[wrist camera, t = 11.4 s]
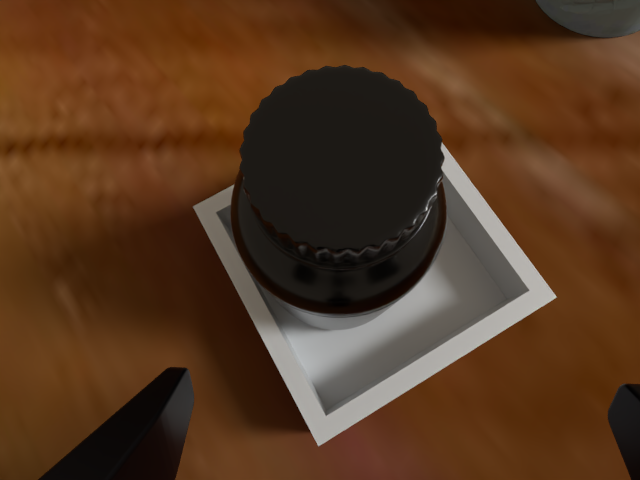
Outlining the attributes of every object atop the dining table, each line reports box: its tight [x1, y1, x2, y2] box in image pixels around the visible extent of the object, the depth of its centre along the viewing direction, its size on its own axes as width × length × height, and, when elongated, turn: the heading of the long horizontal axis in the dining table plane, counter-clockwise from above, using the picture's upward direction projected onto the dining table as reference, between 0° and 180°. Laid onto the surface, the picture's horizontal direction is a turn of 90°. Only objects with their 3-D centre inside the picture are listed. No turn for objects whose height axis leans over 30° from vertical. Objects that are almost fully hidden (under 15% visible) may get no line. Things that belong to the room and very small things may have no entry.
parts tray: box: [193, 143, 556, 446], centre depth 21 cm, size 12×12×4 cm
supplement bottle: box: [230, 65, 447, 330], centre depth 16 cm, size 7×7×12 cm
